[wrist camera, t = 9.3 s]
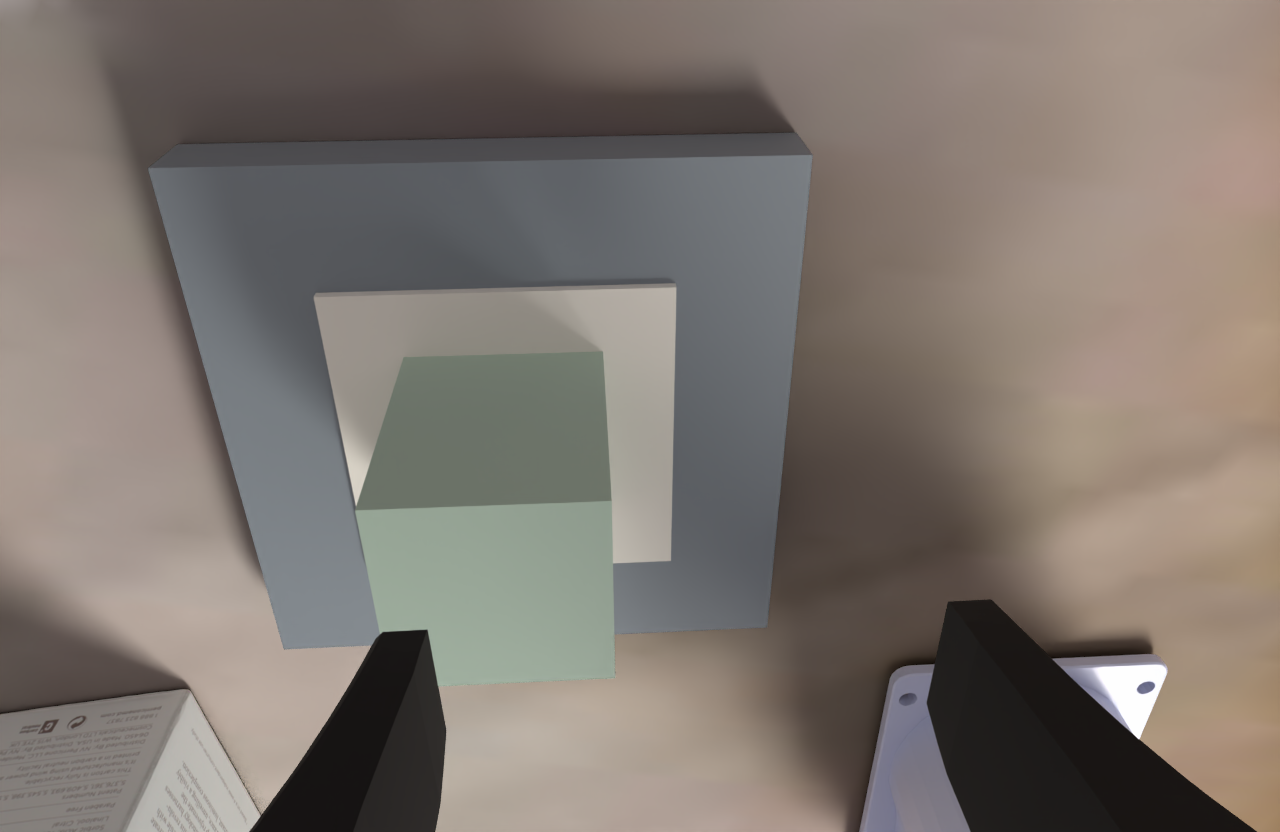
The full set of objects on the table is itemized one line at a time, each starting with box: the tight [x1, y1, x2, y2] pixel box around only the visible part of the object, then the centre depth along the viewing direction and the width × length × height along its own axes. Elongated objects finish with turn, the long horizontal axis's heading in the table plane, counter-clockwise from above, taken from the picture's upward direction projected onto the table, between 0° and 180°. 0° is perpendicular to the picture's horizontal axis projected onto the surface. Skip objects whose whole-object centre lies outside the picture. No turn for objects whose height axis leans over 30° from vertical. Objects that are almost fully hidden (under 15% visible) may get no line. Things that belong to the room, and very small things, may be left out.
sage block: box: [355, 351, 615, 686], centre depth 18 cm, size 4×4×5 cm
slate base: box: [148, 133, 813, 649], centre depth 21 cm, size 12×12×2 cm
